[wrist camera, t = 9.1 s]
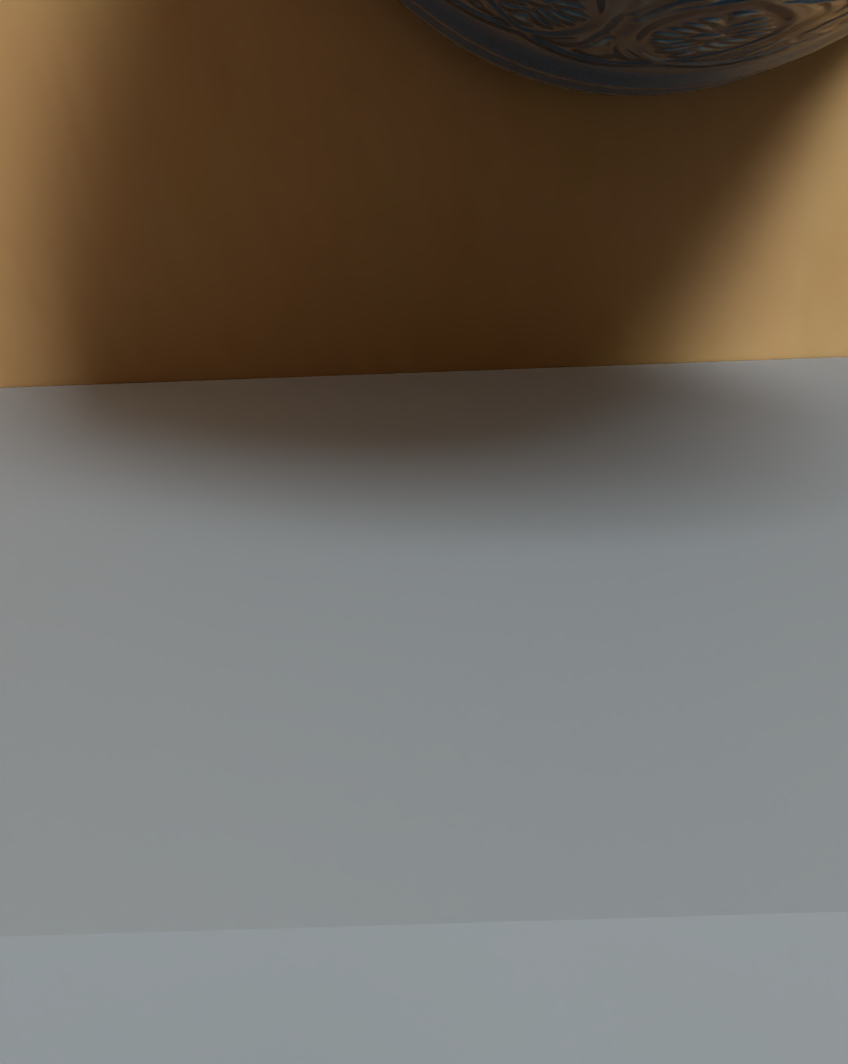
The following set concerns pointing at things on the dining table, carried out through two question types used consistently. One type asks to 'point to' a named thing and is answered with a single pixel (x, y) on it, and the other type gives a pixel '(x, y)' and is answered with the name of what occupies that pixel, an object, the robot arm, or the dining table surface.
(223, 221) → the dining table surface
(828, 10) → the canister
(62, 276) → the dining table surface
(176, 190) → the dining table surface
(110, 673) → the wall board
